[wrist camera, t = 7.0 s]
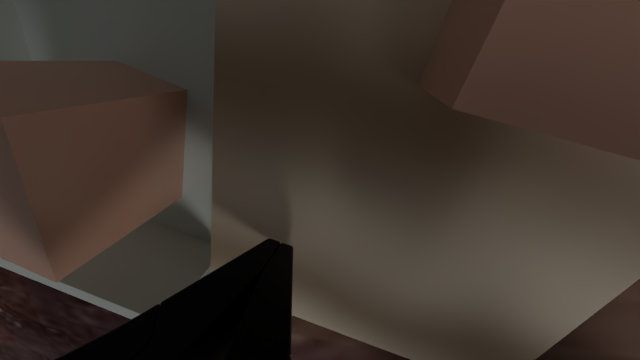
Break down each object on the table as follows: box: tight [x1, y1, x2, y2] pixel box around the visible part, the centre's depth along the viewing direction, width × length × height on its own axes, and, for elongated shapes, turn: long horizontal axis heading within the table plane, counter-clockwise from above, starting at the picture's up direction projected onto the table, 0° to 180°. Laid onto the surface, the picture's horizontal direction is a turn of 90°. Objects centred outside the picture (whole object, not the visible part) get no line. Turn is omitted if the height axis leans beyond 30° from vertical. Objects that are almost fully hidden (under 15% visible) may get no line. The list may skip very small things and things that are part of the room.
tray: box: [0, 0, 215, 319], centre depth 7 cm, size 17×10×4 cm, turn 167°
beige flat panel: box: [210, 0, 640, 360], centre depth 7 cm, size 16×12×2 cm
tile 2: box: [0, 61, 187, 283], centre depth 8 cm, size 5×5×3 cm
